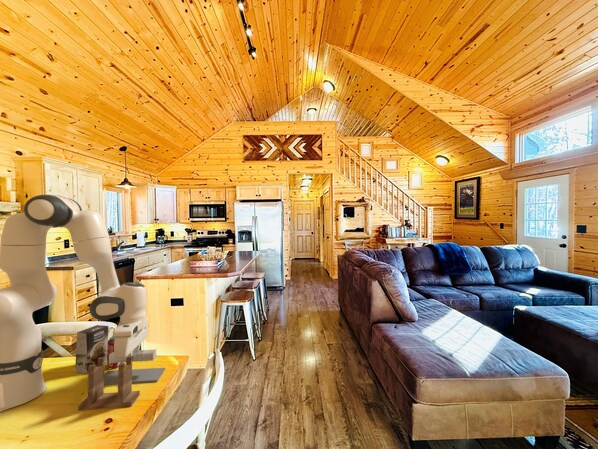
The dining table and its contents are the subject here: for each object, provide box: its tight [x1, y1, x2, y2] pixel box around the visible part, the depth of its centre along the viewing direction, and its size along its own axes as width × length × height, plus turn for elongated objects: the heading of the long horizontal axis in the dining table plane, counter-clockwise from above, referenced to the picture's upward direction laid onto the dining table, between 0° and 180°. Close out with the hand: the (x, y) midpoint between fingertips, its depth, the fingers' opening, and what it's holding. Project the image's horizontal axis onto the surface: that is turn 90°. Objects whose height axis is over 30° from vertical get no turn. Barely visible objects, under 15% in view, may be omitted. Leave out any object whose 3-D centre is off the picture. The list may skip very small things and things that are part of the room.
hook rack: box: [77, 356, 141, 411], centre depth 89 cm, size 16×6×14 cm, turn 99°
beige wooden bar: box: [109, 349, 157, 363], centre depth 104 cm, size 16×3×3 cm, turn 99°
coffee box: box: [74, 324, 109, 374], centre depth 110 cm, size 9×6×16 cm
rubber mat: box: [104, 367, 166, 386], centre depth 103 cm, size 22×9×1 cm, turn 99°
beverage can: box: [106, 335, 124, 369], centre depth 112 cm, size 6×6×12 cm
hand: (132, 358), depth 104 cm, fingers closed on beige wooden bar, 3 cm apart
